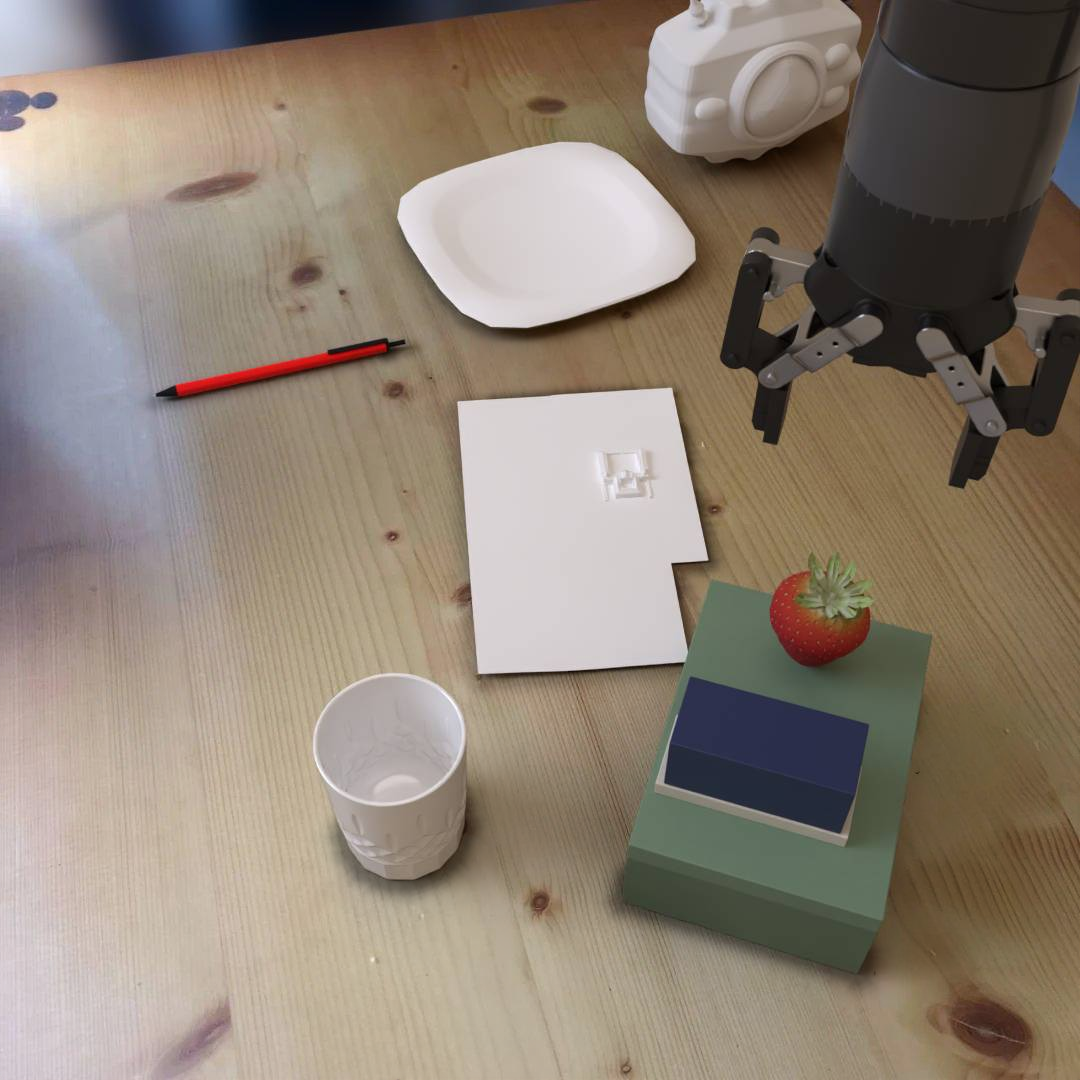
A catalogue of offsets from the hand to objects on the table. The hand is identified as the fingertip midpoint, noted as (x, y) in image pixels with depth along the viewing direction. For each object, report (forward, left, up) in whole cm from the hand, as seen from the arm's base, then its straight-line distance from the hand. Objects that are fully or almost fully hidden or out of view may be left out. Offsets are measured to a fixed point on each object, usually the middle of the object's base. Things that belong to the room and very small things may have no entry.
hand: (864, 453), depth 60 cm
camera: (+16, -57, -24) cm, 64 cm away
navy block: (+1, +9, -17) cm, 19 cm away
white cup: (+20, +14, -24) cm, 34 cm away
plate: (+29, -39, -24) cm, 54 cm away
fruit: (0, 0, -17) cm, 17 cm away
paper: (+17, -11, -24) cm, 31 cm away
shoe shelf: (0, +5, -24) cm, 25 cm away
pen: (+42, -18, -24) cm, 52 cm away
